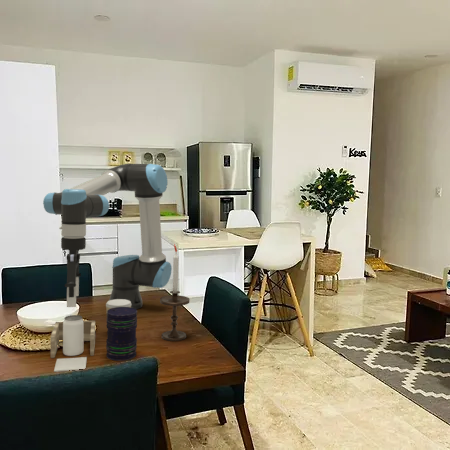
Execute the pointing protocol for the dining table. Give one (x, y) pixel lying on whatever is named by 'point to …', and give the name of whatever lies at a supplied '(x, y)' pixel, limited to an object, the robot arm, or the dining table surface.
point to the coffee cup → (117, 303)
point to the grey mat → (70, 364)
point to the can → (73, 335)
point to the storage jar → (121, 333)
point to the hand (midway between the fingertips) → (73, 301)
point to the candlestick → (174, 304)
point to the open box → (58, 335)
